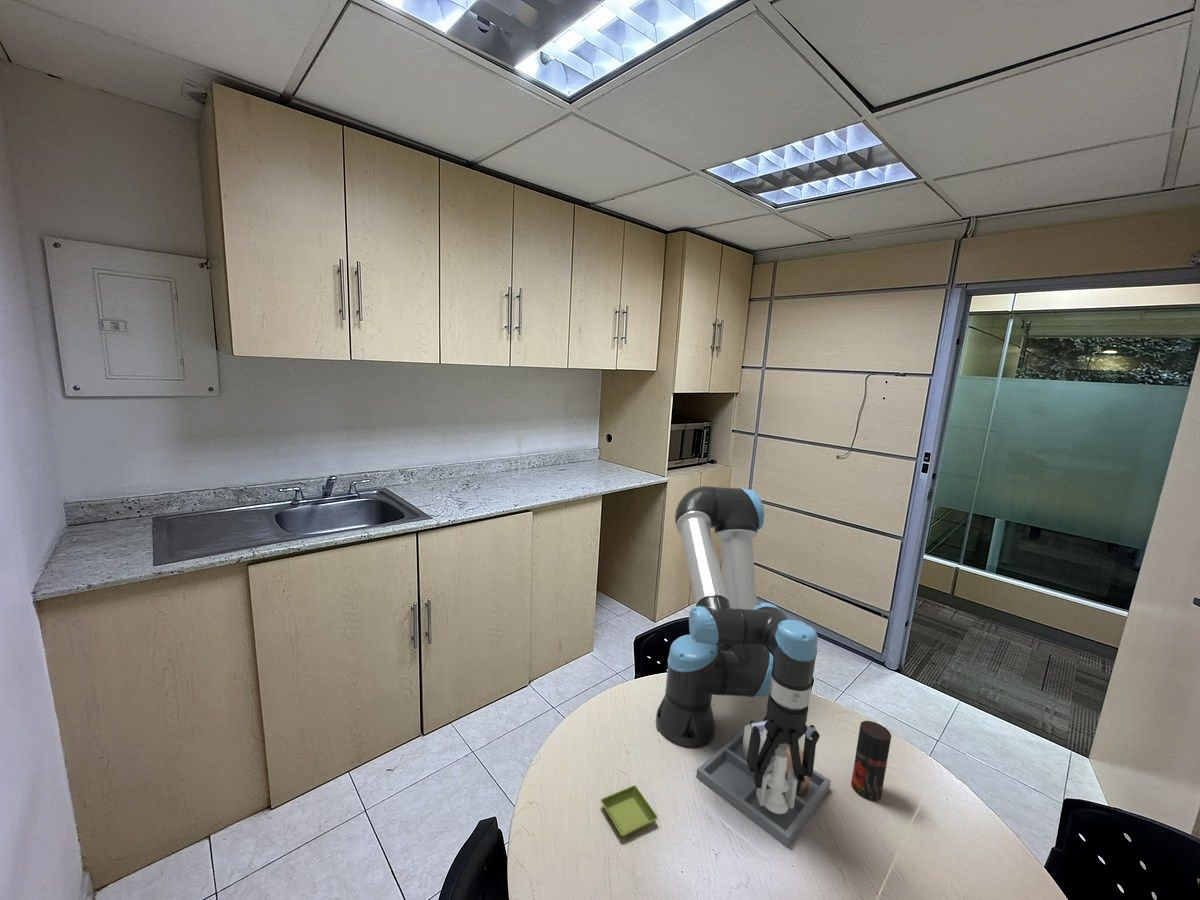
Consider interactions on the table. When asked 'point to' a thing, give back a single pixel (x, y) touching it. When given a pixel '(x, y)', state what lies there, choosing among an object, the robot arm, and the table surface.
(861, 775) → the deodorant
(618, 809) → the green square dish
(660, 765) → the table surface
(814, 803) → the holder tray
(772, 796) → the white peg
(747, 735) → the glossy white egg
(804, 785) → the glossy peach egg
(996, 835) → the table surface
